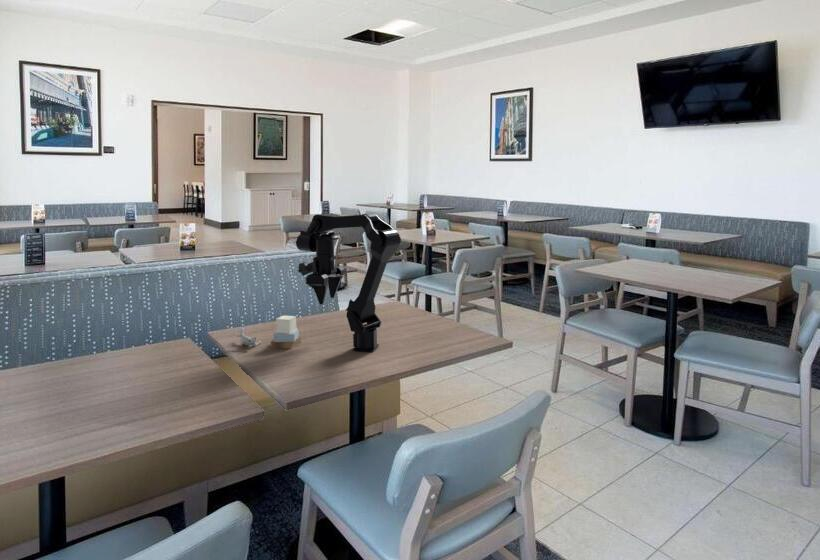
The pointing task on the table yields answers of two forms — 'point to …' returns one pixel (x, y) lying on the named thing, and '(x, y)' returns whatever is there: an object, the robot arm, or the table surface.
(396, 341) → the table surface
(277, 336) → the tower mid
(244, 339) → the soldier figure
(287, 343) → the tower base
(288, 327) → the cube
